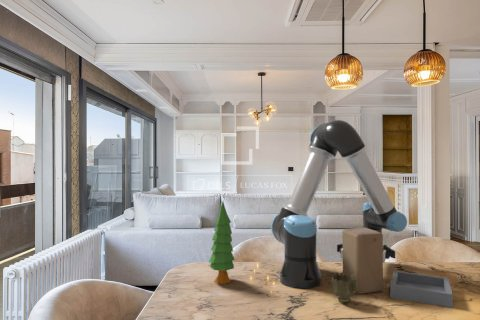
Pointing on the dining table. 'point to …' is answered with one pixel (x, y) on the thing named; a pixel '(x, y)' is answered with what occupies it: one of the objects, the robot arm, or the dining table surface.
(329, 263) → the dining table surface
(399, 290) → the gray square tray
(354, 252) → the wooden block
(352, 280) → the cup
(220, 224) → the decorative tree
